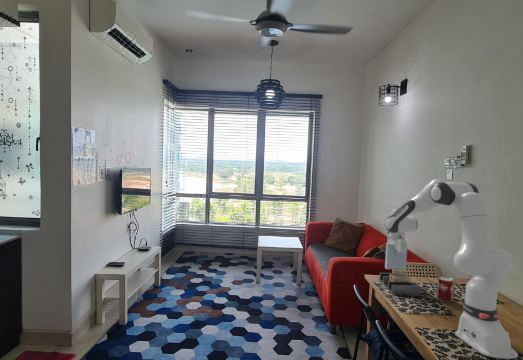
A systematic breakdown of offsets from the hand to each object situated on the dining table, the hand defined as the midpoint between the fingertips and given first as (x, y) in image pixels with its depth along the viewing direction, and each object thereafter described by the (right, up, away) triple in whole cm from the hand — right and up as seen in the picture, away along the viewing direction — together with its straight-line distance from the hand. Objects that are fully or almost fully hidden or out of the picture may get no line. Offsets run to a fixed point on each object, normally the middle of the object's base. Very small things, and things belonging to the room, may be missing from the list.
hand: (396, 256), depth 190 cm
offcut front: (-1, -17, -8) cm, 19 cm away
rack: (-1, -18, -4) cm, 18 cm away
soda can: (+18, -19, -21) cm, 33 cm away
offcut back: (-1, -17, -4) cm, 17 cm away
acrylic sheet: (0, -8, 0) cm, 8 cm away
